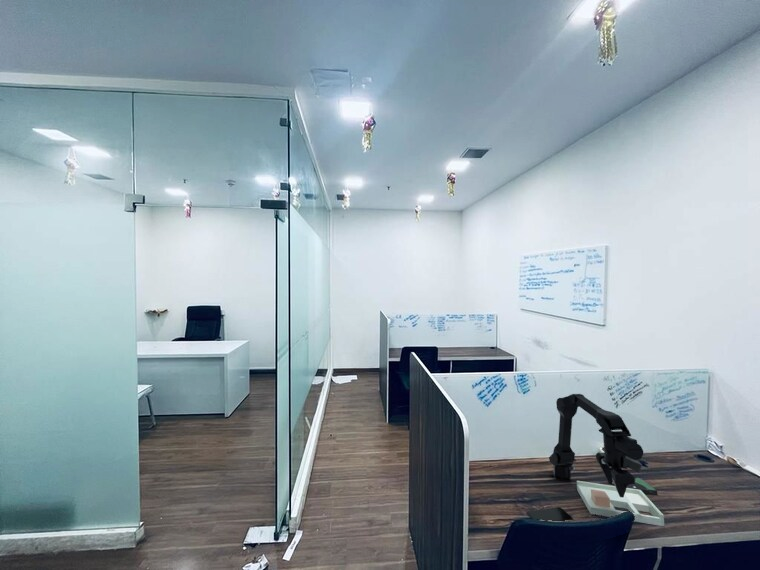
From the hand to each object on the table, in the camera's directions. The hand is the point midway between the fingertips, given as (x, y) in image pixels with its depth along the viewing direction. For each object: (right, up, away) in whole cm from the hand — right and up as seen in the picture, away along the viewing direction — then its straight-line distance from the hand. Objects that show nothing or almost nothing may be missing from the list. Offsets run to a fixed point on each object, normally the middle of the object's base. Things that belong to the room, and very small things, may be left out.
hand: (615, 490), depth 118 cm
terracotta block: (0, -10, +7) cm, 13 cm away
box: (+7, -13, +9) cm, 17 cm away
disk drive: (+25, -15, +22) cm, 36 cm away
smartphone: (-24, -13, +3) cm, 27 cm away
